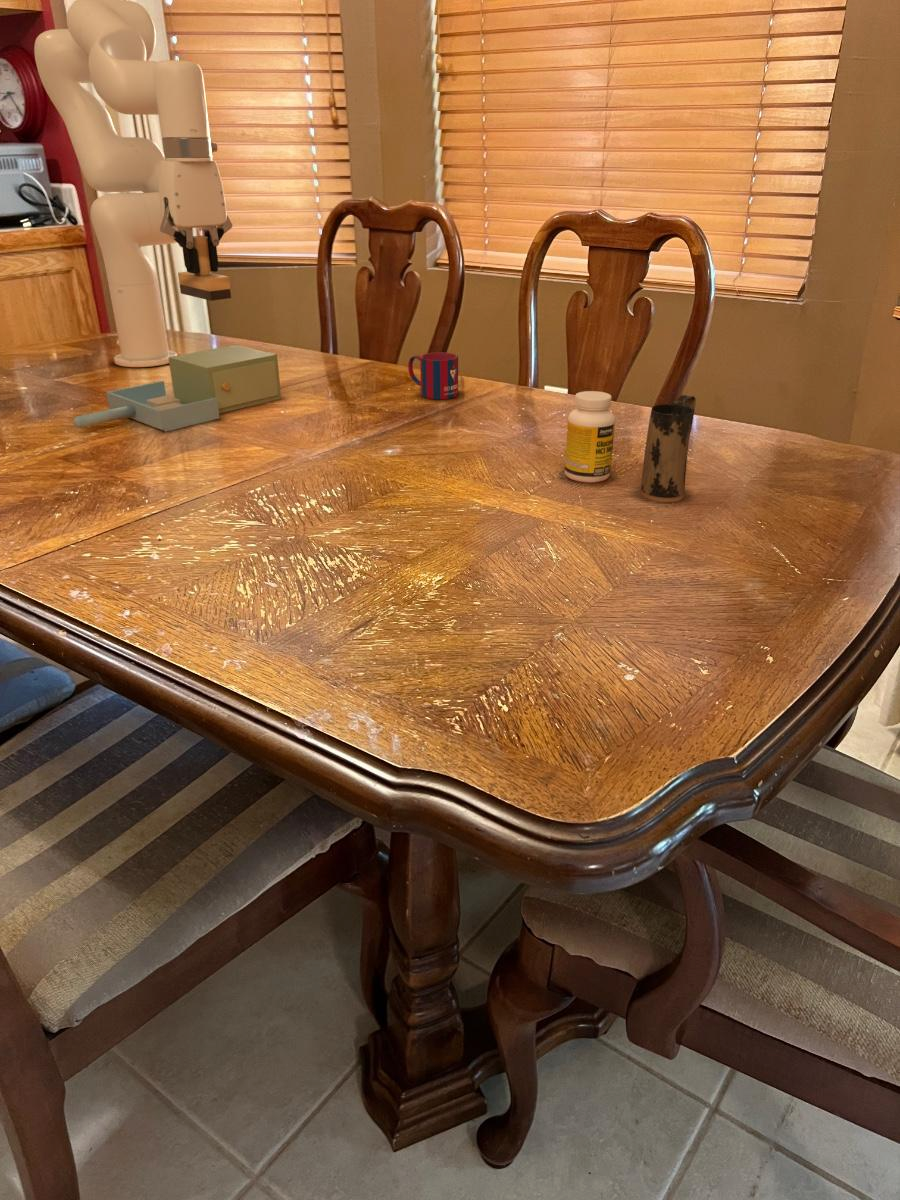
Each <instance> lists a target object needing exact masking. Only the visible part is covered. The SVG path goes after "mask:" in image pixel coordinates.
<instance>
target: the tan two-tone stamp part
mask: <svg viewBox="0 0 900 1200" xmlns="http://www.w3.org/2000/svg"><path fill="white" fill-rule="evenodd" d="M193 246H194V248H196V249H197V253H198V261H199V269H200V273H199V274H194V273H189V272H187V271H179V272H177V278H178V284H179V291H180V294H181V295H186V296H189V297H194V298H198V299H202V300H206V301H210V302H213V301H220V300H226V299H227V300H228V299H232V292H231V291H232V290H231V282H230V276H228V275H223V274H218V273H213V272H212V271H211V266H210V257H209V249H208V241H207V236H203V235H193Z"/></svg>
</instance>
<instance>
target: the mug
mask: <svg viewBox="0 0 900 1200" xmlns="http://www.w3.org/2000/svg"><path fill="white" fill-rule="evenodd" d="M696 402H697V401H696V397H695V396H694V395H687V394H682V395H680V396H679V397H678V398H677V399H676V400H674V401H673V402H672V403H665V404H656V405H654V406H652V407H651V411H650V416H649V421H648V427H647V434H646V440H645V448H644V456H643V465H642V472H641V484H640V485H641V486H640V495H641V496H642V498H645V499H646V500H649V501H653V502H659V503H674V502H678V501H681V500H683V499H684V498H685V494H686V493H685V490H686V473H687V465H688V464H687V463H688V451H689V445H690V444H689V443H690V437H691V432H692V427H693V422H694V416H695V408H696V405H697V404H696Z"/></svg>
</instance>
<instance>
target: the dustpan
mask: <svg viewBox="0 0 900 1200" xmlns="http://www.w3.org/2000/svg"><path fill="white" fill-rule="evenodd" d="M105 393H106V399H107V404H108V409H104V410H101V411H96V412H92V413H86V414H82V415H77V416H74V418H73V419H72V423H73V425H74V426H75V427H76V428H78V429H83V428H87V427H92V426H97V425H100V424H105V423H110V422H114V421H118V420H122V419H123V420H124V419H128V418H129V419H131V420H134V421H137V422H139V423H142V424H144V425H147V426H149V427H153V429H156V430H160V431H162V432H164V433H165V432H170V431H174V430H178V429H183V428H186V427H190V426H194V425H199V424H203V423H207V422H211V421H215V420H219V419H220V414H219V410H218V403H217V398H212V399H207V400H203V401H198V402H194V403H189V404H182V403H180V404H181V405H180V406H176V407H171V408H167V409H162V410H159V409H156V408H153V407H150V406H147V401H146V400H149V399H153V398H158V397H163V396H167V392H166V385H165V381H164V380H160V381H155V382H150V383H145V384H140V385H133V386H130V387H125V388H119V389H115V390H110V391H106V392H105Z"/></svg>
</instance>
